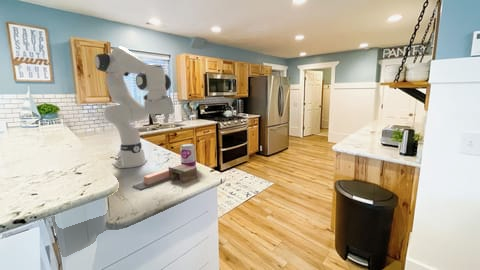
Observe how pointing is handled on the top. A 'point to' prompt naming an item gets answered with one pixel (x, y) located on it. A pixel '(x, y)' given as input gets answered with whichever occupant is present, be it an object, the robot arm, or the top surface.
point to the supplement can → (188, 155)
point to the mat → (144, 185)
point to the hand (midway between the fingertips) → (160, 122)
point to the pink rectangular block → (156, 176)
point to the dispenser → (183, 173)
